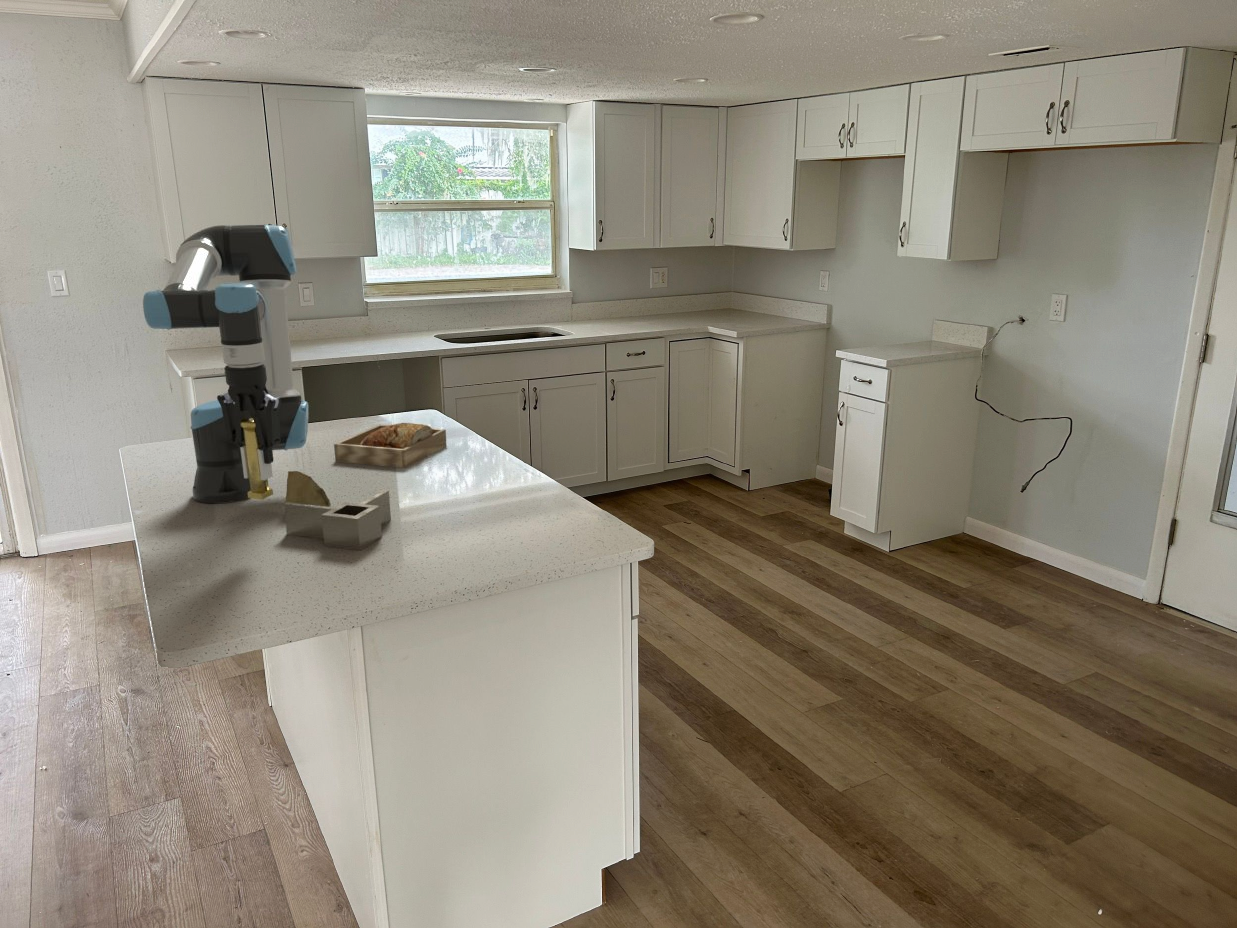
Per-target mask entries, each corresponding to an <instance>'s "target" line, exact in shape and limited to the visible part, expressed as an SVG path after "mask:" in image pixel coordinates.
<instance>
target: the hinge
mask: <svg viewBox="0 0 1237 928" xmlns="http://www.w3.org/2000/svg"><path fill="white" fill-rule="evenodd" d="M390 502H391V500H390V490H387V489H383V490H381V491H379V492H378V493H376V494H374V495H373V496H371V497H369V498H367V499H365V500H364V501H362V502H359V503H355V502H346V501H345V502H343V503H341V504H339V505H337V506H336V507H333V506H329V507H326V506H316V505H307V504H298V503H289V502H287V503H286V502H285V503H283V512H284V518H285V519H284V520H285V531H286V535H290V536H297V537H298V536H299V537H305V538H313V539H314V538H315V539H323V542H324V547H327V548H337V549H343V550H344V549H345V550H351V551H362V550H364V549H365V548H366V547H368V546H370V545H371V544H373V543H375V542H376V541H378V540H379V539H380V538H382V537H383V533H382V526H383V525H385V524H386V523H388V522H389V521H392V517H391V503H390Z"/></svg>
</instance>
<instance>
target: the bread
mask: <svg viewBox="0 0 1237 928" xmlns="http://www.w3.org/2000/svg"><path fill="white" fill-rule="evenodd" d="M388 425H389V426H386V427H383V428H381V429H379V430H377V431H374V432H373V433H371V434H369V435H368V436H367V437H365V439H364V440H362V442H361V443H360V445H362V446H373V447H385V448H397V449H404V448H406V447H408V446H410V445H412V444H414V443H416V442H418V441H420V440H422V439H424V438H426V437H428V436H430V435H432V434H433V431H432V427H431V426H429V425H427V424H424V423H423V424H420V423H412V422H411V423H410V422H401V423H395V424H388Z"/></svg>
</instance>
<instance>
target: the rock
mask: <svg viewBox="0 0 1237 928" xmlns="http://www.w3.org/2000/svg"><path fill="white" fill-rule="evenodd" d="M287 502H289V503H298V504H307V505H316V506H326V507H332V505H331V501H330V499H329V497H328V495H327V493H326V491H325V490H324V489H323V487H320V486H319V484H318V483H317V482H316V481H315V480H314V479H313V478H312V476H309V475H308V474H305V473H302V472H301V471H299V470H292V471H291V470H289V471H287V480H286V495H285V503H287Z"/></svg>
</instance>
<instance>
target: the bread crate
mask: <svg viewBox="0 0 1237 928" xmlns="http://www.w3.org/2000/svg"><path fill="white" fill-rule="evenodd" d="M389 425H390V424H377V425H375V426H373V427H371V428H368V429H366V430H363V431H361V432H359V433H357V434H354V435H352V436H349V437H348V438H347V437H346V438H345V439H343V440H340V441H337V442H336V443H334V444H333V448H334V458H335V459H334V461H335V462H338V463H347V464H348V463H350V464H359V465H372V466H378V467H379V466H381V467H393V468H401V469H407V468H409V467H411V466H412V465H414V464H416V463H418V462H419V461H421V460H423V459H425V458H427V457H429V456H431V455H433V454H434V453H436V452H438V451H440V450H442V449H443V448H445V447H447V445H448V444H447V432H446V431H447V430H446V429H442V428H434V427H433V428H432V427H431V428H432V431H433V434H432V435H430V436H428V437H426V438H424V439H422V440H420V441H418V442H416V443H414V444H412V445H410V446H408V447H406V448H404V449H397V448H385V447H373V446H362V445H360V443H361V442H362V440H364V439H365V437H367V436H368V435H369V434H371V433H373V432H374V431H377V430H379V429H381V428H383V427H386V426H389Z"/></svg>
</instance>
